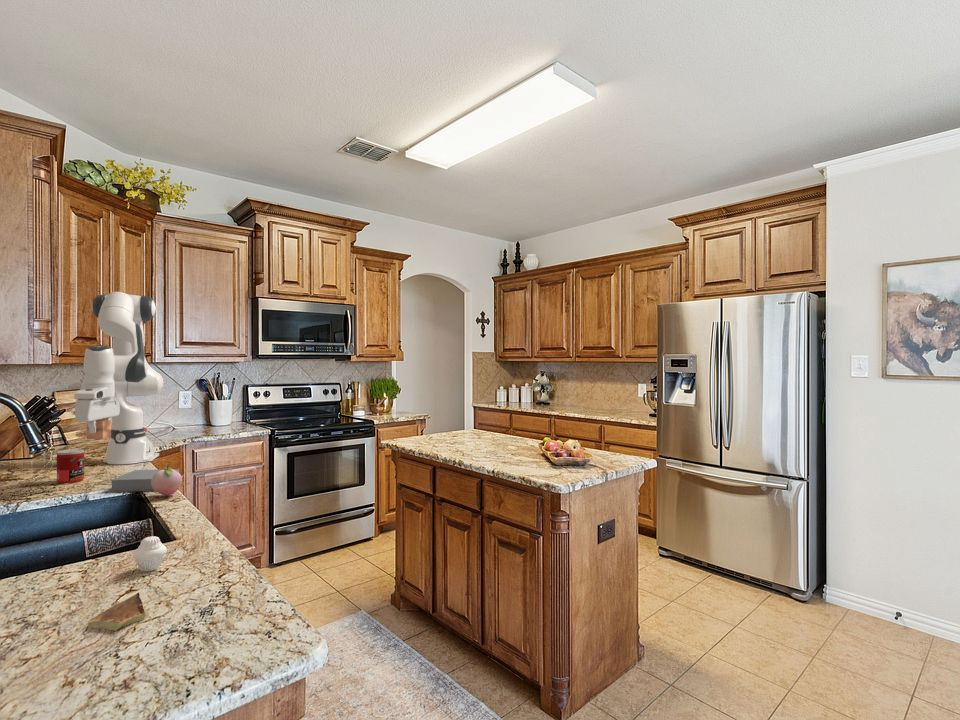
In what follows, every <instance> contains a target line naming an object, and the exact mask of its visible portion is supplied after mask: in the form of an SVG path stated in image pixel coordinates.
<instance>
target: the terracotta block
mask: <svg viewBox="0 0 960 720" xmlns="http://www.w3.org/2000/svg"><path fill="white" fill-rule="evenodd" d="M95 425H96V428H98V430H97V431H98V432H97V433H92V434H91V433H90V432H89V427H88V425H87V424H86V440H104V439H108V438H111V430H112V419H110V420H102V419H99V420H96V423H95Z"/></svg>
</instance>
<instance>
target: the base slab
mask: <svg viewBox="0 0 960 720" xmlns="http://www.w3.org/2000/svg"><path fill="white" fill-rule="evenodd" d="M172 469H173V468H172ZM161 470H162V469H137V470H136V469H134V470H132V471H130V472H127V473H126V474H125V473H124V474H123V475H120V476H118V477H116V478H114V479H113V478H112V479H111V492H112V493H117V492H123V493H124V492H126V493H127V492H153V491H154V492H156V491H155V490H154V489H153V488H152V485H151V481H152V478H153V476H154V475H155V474H156V473H157V472H158V471H161ZM173 470H175V471H177V472H179V473H180V469H179V468H177V469H176V468H175V469H173Z"/></svg>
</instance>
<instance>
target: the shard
mask: <svg viewBox="0 0 960 720" xmlns="http://www.w3.org/2000/svg"><path fill="white" fill-rule="evenodd" d="M140 596H141V595H140V592H137V593H136V594H134V595H132V596H130V597H128V598H126V599H124V600H122V601H120V602H119V603H116V604H114V605H113V606H111V607H109V608H107V609H105V610H104V611H102V612H101V613H99V614H97V615H96V616H94V617H92V618H91V619H89V621H88V622H87V628H89V629H90V628H91V629H104V630H105V629H106V630H109V631H118V630H120V629H121V628H123V627H125V626H128V625H131V624H133V623H137V622H140V621H143V620H145V618H146V617H147V615H146V613H145V609H144V605H143V600H142V598H141V597H140Z"/></svg>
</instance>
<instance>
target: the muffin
mask: <svg viewBox="0 0 960 720" xmlns="http://www.w3.org/2000/svg"><path fill="white" fill-rule="evenodd" d="M167 552H168V548H167V547H166V545H164V544H163V543H162V541H161V539H160V537H158V536H154V535H151V536H147V537H145V538H142V540H140V545H139V546H138V548H136V549H135V550H134V552H133V554H132V557H133V559H134V562H135V564H136V565H137V567H138V568H139V569H140V571H141V572H143V573H144V572H146V573H147V572H152V571H155V570H158V569H159V568H160V566H161V564H162V563H163V561H164V559H165V557H166V554H167Z"/></svg>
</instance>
